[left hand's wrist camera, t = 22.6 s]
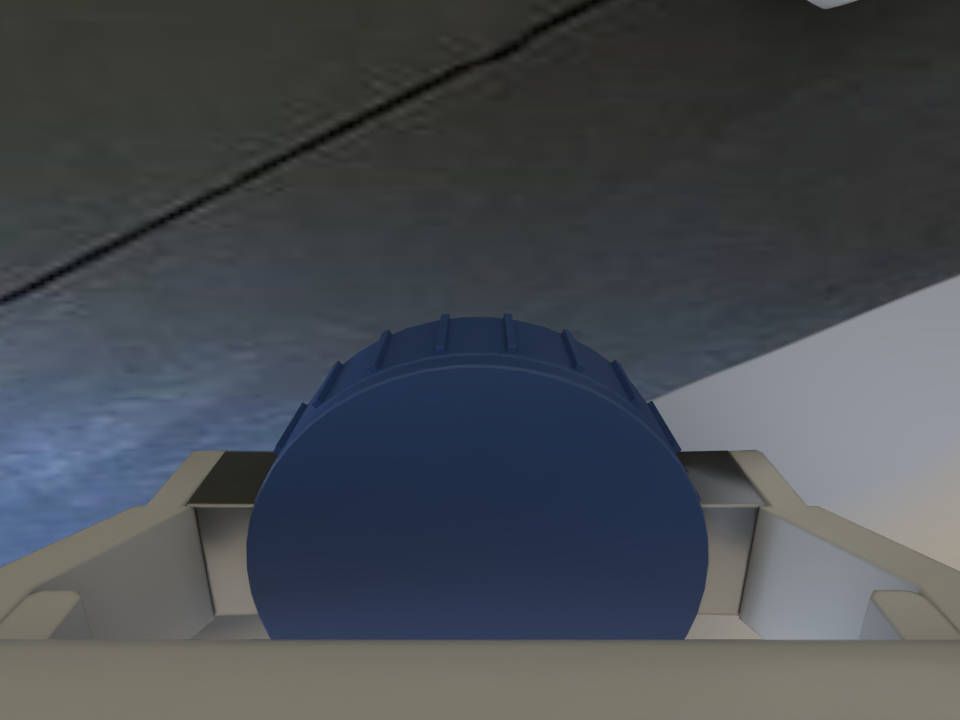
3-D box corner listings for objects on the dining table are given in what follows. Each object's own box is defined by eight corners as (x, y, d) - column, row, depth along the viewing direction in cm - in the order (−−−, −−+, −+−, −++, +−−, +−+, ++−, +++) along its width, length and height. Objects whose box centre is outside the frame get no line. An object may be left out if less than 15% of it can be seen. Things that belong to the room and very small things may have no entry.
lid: (207, 515, 10) (149, 601, 8) (454, 220, 8) (447, 247, 7) (495, 700, 12) (498, 807, 10) (755, 477, 10) (815, 557, 8)
